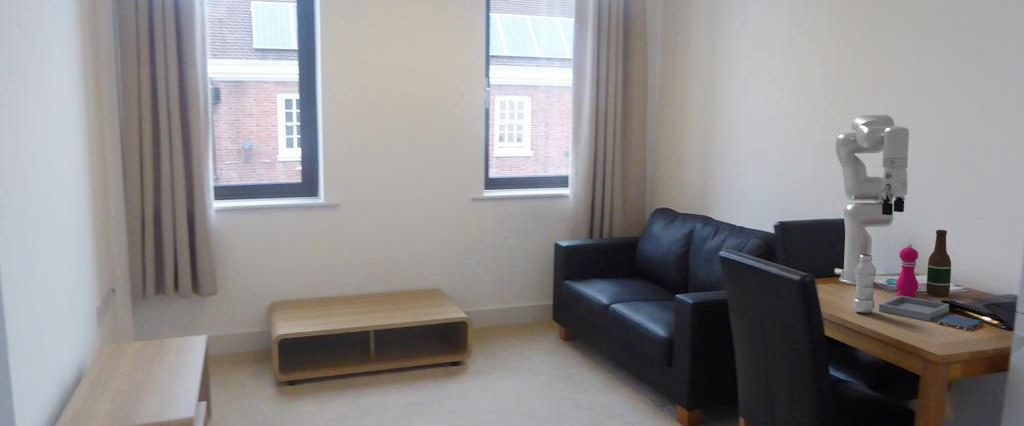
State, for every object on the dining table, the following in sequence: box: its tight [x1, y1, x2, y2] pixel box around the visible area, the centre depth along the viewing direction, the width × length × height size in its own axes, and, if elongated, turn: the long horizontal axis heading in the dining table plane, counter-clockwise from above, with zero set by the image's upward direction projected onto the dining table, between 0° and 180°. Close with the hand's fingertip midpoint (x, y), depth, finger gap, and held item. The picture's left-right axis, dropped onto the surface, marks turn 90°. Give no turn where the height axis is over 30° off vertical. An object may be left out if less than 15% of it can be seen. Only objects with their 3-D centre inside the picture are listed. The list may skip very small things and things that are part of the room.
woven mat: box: [935, 314, 985, 332], centre depth 233 cm, size 10×11×2 cm
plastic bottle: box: [852, 254, 877, 314], centre depth 247 cm, size 6×7×20 cm
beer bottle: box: [926, 229, 952, 298], centre depth 267 cm, size 8×8×24 cm
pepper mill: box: [895, 243, 919, 298], centre depth 264 cm, size 7×7×20 cm
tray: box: [878, 296, 950, 322], centre depth 248 cm, size 16×16×2 cm
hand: (892, 213), depth 251 cm, fingers open, 9 cm apart
